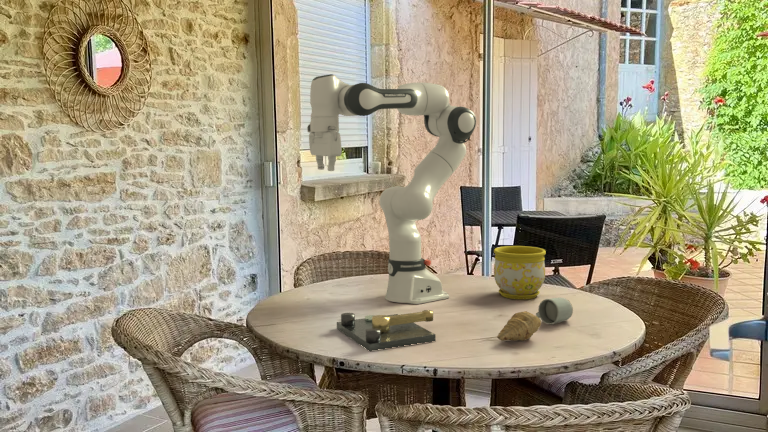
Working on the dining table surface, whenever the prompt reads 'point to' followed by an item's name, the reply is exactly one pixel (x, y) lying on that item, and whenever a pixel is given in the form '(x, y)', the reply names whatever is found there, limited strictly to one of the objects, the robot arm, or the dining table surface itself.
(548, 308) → the ceramic mug
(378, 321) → the lever
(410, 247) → the robot arm
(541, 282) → the flowerpot
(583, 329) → the dining table surface
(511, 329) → the seashell
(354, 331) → the base
